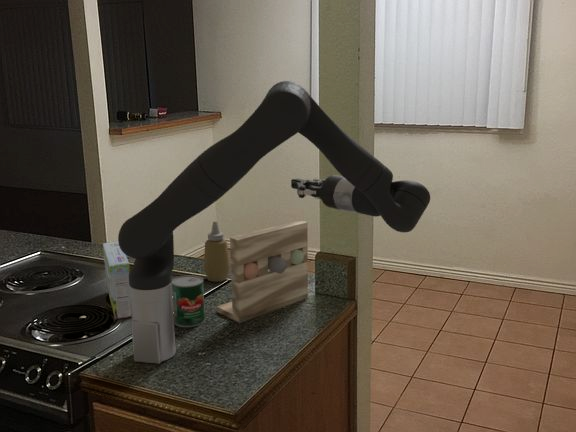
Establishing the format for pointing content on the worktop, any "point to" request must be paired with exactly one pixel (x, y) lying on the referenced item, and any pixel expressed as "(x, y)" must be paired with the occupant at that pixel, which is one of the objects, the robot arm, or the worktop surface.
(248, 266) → the terracotta button
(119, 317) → the snack box
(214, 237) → the squeeze bottle
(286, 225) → the button panel
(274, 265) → the grey button
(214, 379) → the worktop surface
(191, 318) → the canned tomato
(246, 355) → the worktop surface
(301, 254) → the sage button
